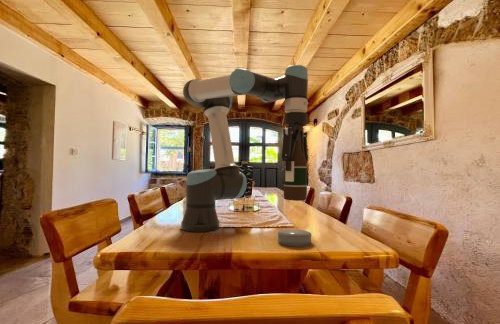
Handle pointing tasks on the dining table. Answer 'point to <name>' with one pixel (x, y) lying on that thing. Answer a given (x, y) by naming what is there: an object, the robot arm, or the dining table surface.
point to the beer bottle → (297, 176)
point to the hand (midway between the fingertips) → (295, 180)
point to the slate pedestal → (294, 237)
